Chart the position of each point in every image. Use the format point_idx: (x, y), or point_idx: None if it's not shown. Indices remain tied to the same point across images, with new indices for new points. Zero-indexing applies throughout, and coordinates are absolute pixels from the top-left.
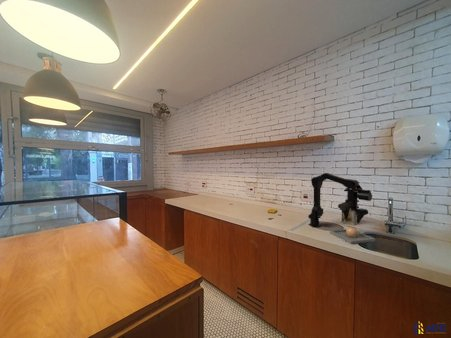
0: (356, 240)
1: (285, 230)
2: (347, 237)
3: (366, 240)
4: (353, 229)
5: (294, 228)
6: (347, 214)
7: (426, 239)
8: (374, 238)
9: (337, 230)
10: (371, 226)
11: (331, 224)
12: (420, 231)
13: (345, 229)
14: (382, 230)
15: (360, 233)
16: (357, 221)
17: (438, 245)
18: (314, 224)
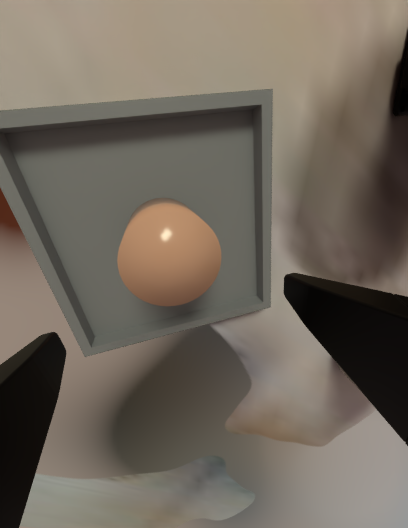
0: (7, 192)
1: None
2: (141, 187)
3: (55, 288)
4: (118, 253)
5: None
6: (349, 357)
7: (146, 509)
8: (91, 354)
9: (262, 175)
10: (296, 411)
11: (387, 240)
12: (220, 513)
13: (267, 258)
14: (247, 429)
15: (192, 318)
16: (3, 363)
17: (87, 521)
18: None
